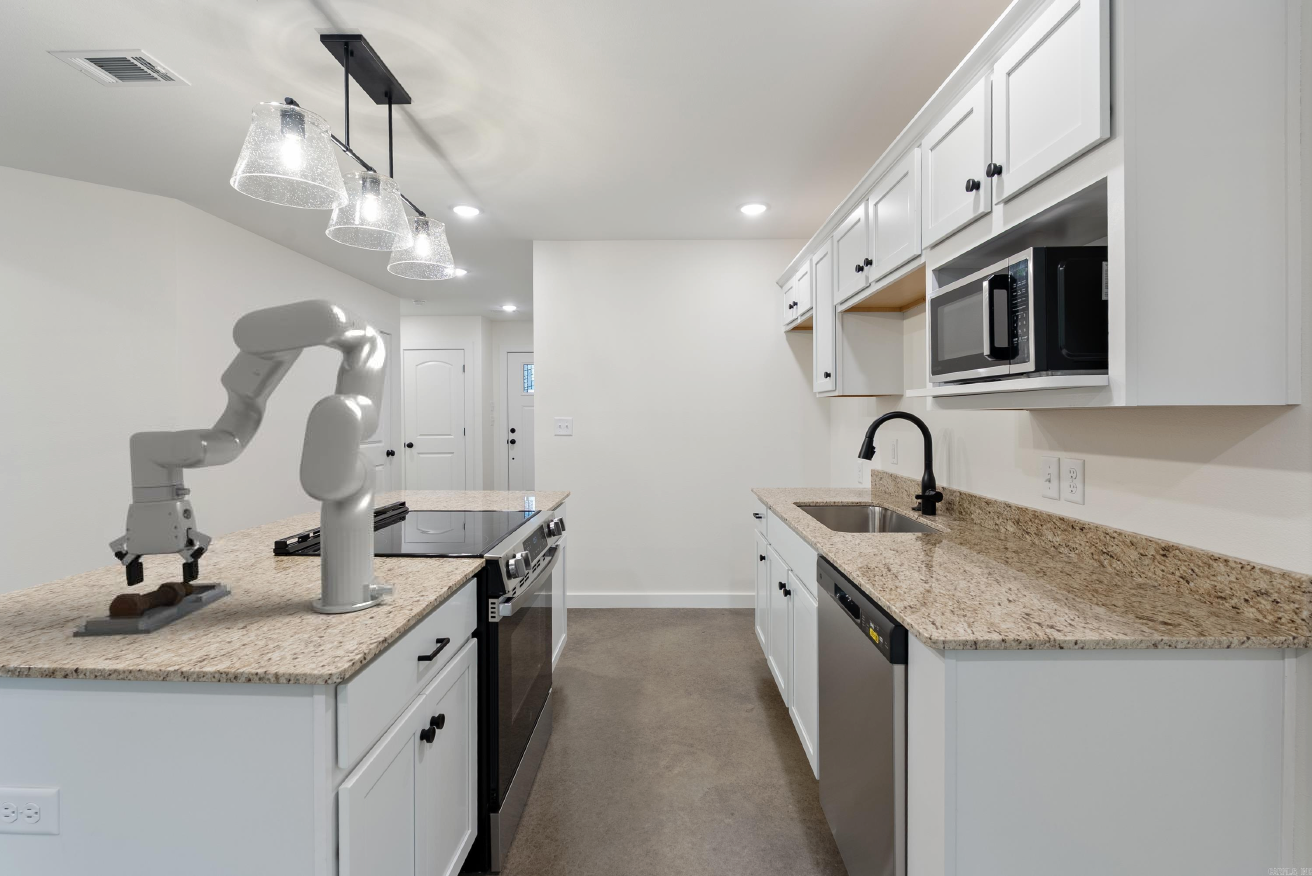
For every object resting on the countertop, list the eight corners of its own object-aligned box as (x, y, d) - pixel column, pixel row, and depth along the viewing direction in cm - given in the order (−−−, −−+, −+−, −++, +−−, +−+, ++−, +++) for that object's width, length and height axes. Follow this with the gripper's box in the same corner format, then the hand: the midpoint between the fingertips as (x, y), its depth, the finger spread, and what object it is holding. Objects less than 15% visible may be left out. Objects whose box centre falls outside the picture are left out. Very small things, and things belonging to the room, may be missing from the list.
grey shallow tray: (226, 590, 121) (226, 581, 121) (144, 629, 99) (144, 618, 98) (173, 592, 120) (173, 583, 120) (78, 632, 97) (77, 621, 97)
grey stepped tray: (231, 593, 121) (231, 590, 121) (150, 633, 99) (149, 628, 99) (169, 596, 120) (169, 592, 120) (73, 636, 97) (72, 632, 97)
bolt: (191, 606, 116) (128, 630, 101) (169, 594, 116) (102, 617, 101) (206, 581, 116) (145, 602, 101) (183, 569, 116) (119, 588, 101)
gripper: (220, 490, 113) (224, 574, 114) (124, 494, 111) (129, 580, 112) (194, 495, 106) (199, 585, 107) (91, 499, 104) (97, 591, 104)
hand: (163, 582), depth 109 cm, fingers open, 9 cm apart
